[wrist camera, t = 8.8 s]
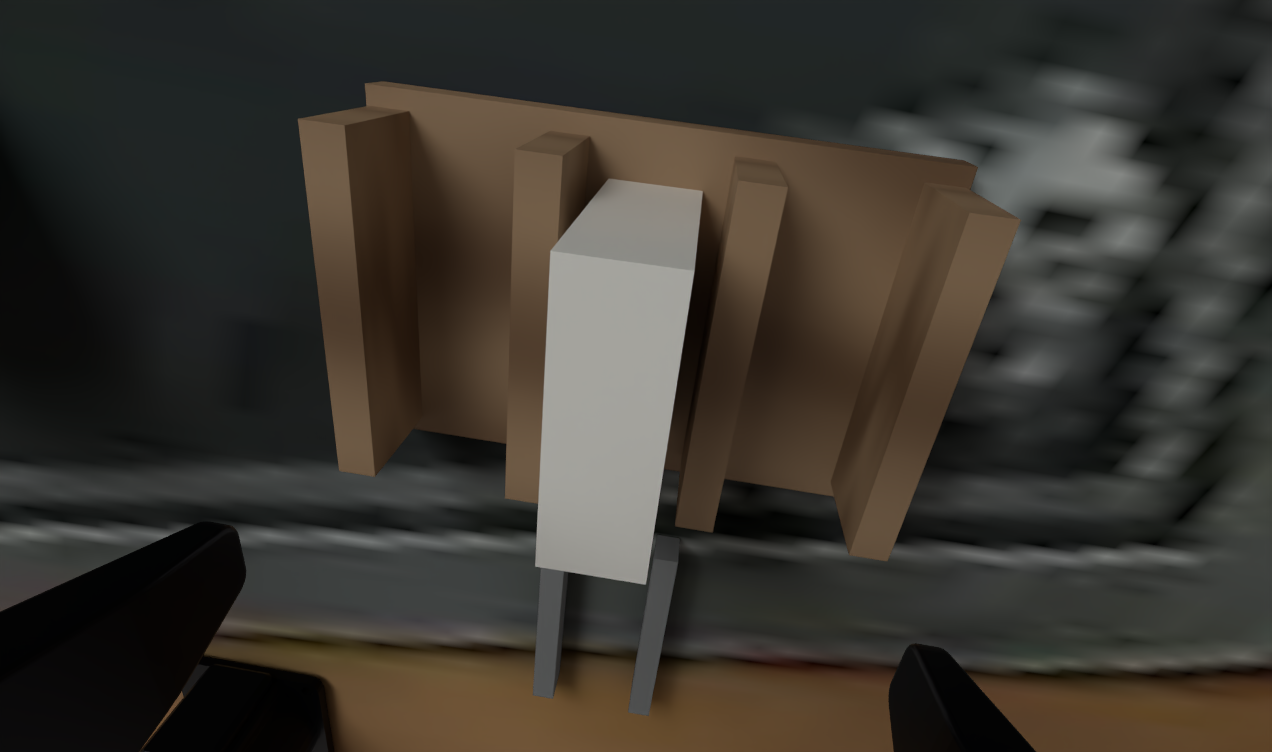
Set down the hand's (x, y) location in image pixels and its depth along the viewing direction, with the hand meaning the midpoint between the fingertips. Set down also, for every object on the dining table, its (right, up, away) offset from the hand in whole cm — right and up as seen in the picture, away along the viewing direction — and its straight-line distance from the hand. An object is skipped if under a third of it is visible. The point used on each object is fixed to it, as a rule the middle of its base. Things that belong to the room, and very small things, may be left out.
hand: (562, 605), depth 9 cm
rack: (+1, +5, +10) cm, 12 cm away
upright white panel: (+1, +5, +9) cm, 11 cm away
